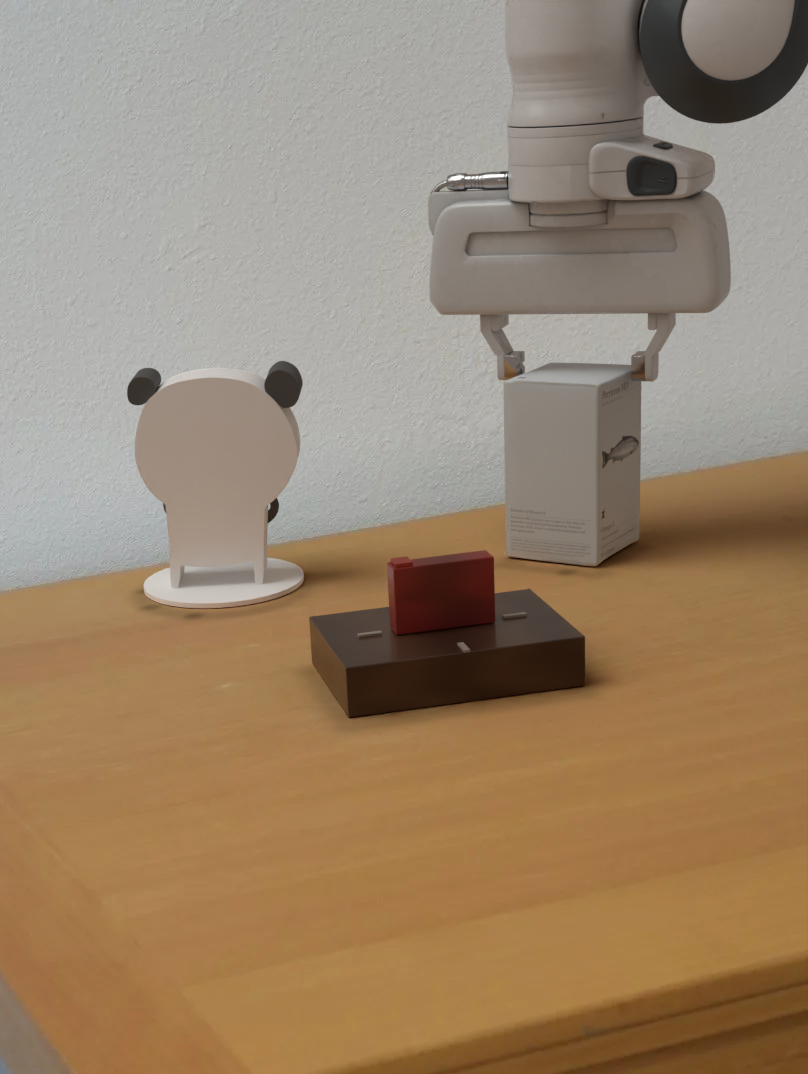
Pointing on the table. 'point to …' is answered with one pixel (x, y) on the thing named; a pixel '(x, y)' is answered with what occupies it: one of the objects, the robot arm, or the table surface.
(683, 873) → the table surface
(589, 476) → the white packaging box
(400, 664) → the stamp base
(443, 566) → the red rectangular block
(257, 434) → the panda figurine
